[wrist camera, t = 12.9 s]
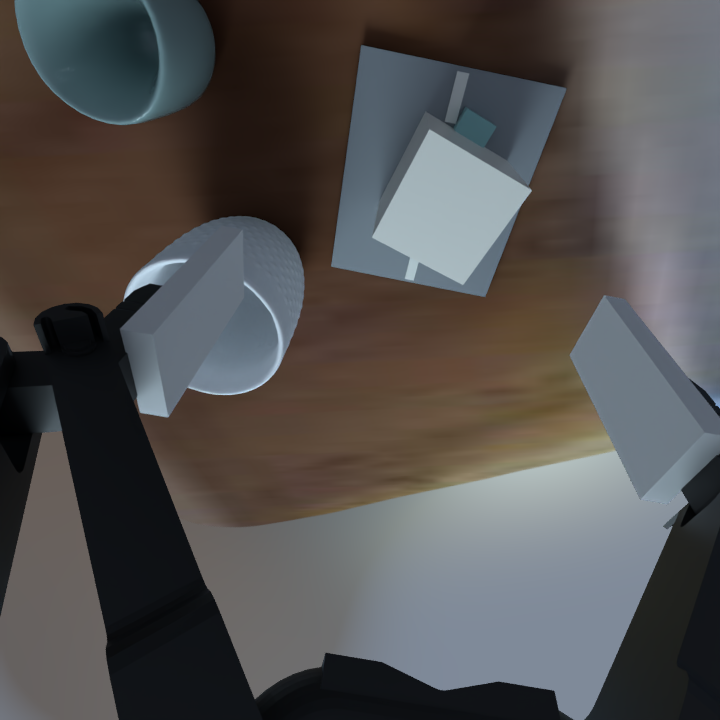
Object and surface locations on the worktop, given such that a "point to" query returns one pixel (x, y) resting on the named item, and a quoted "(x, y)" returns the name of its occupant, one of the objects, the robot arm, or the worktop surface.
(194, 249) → the mug
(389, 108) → the post plate
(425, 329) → the worktop surface
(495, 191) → the grey cube
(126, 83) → the cup
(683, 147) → the worktop surface
